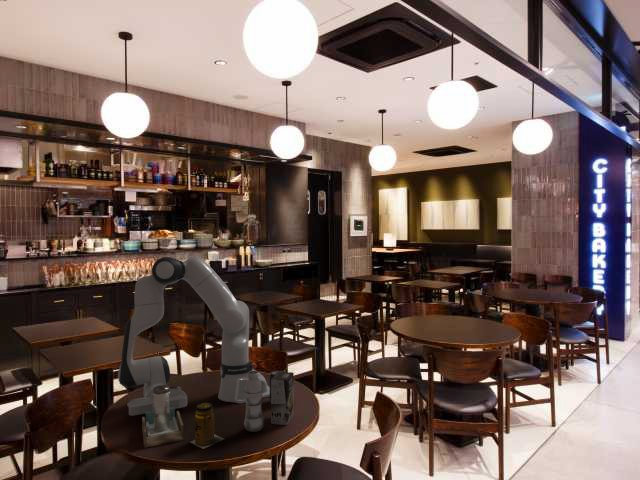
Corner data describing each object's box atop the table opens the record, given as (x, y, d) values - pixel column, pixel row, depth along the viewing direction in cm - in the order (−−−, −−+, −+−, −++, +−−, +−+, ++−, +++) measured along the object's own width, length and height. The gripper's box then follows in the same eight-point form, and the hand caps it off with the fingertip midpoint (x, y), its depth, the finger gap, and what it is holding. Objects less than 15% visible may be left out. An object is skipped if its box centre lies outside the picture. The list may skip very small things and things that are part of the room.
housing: (178, 424, 155) (178, 410, 155) (183, 440, 143) (183, 424, 143) (142, 431, 150) (142, 416, 150) (144, 447, 138) (144, 432, 138)
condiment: (189, 442, 142) (189, 406, 142) (211, 433, 148) (211, 398, 148) (202, 449, 137) (202, 411, 137) (224, 439, 144) (224, 403, 143)
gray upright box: (283, 406, 171) (283, 375, 171) (266, 404, 173) (266, 374, 173) (289, 399, 178) (289, 370, 177) (273, 398, 180) (273, 369, 179)
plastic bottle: (255, 436, 146) (254, 376, 145) (240, 431, 149) (239, 373, 149) (267, 428, 151) (267, 371, 151) (252, 424, 155) (252, 368, 155)
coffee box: (287, 425, 154) (287, 380, 154) (270, 424, 155) (270, 379, 155) (294, 414, 163) (294, 372, 163) (277, 413, 164) (277, 371, 164)
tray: (174, 422, 156) (174, 407, 156) (179, 438, 144) (179, 421, 144) (145, 428, 152) (145, 412, 151) (148, 444, 140) (147, 427, 140)
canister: (169, 423, 151) (169, 383, 151) (170, 430, 146) (170, 389, 146) (153, 426, 149) (152, 386, 149) (154, 433, 144) (153, 391, 144)
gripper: (127, 394, 162) (127, 407, 149) (184, 385, 170) (189, 398, 158) (127, 411, 162) (128, 426, 149) (184, 401, 170) (189, 415, 158)
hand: (160, 411), depth 154 cm, fingers closed, pressing on tray
